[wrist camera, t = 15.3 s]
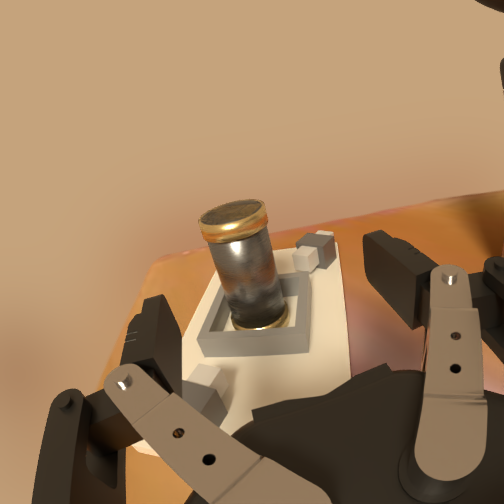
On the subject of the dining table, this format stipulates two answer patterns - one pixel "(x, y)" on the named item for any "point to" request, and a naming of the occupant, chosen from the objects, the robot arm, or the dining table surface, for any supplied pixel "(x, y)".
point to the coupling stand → (269, 342)
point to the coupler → (245, 264)
